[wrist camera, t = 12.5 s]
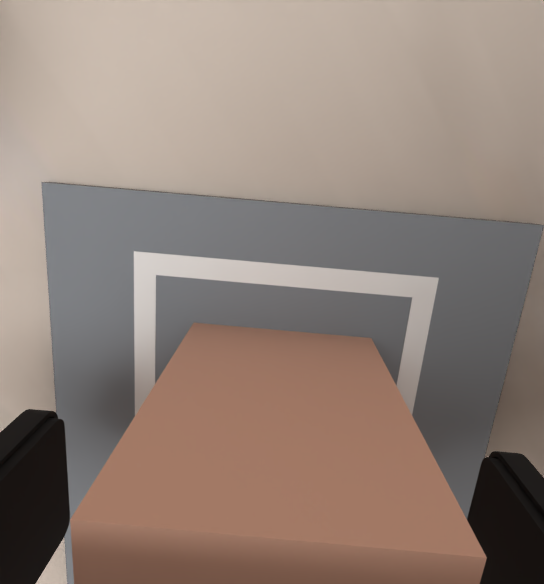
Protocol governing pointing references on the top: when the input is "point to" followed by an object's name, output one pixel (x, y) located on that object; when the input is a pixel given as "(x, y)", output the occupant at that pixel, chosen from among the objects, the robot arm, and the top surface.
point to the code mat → (277, 305)
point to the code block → (273, 474)
